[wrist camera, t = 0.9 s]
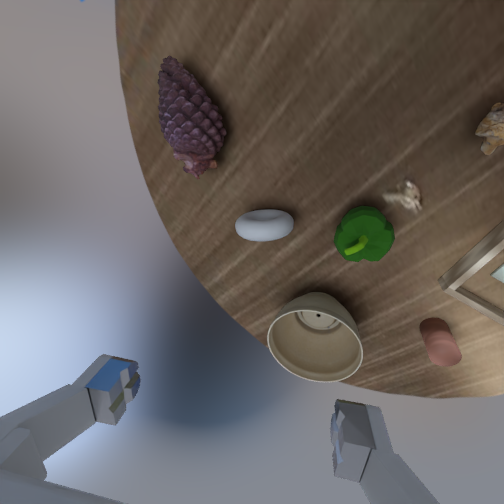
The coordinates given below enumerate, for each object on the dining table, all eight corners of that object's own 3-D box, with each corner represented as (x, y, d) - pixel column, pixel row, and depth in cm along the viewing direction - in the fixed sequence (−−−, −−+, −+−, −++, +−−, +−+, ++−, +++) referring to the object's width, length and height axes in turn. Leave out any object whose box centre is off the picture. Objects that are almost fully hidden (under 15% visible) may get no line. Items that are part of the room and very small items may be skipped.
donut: (298, 206, 48) (287, 225, 39) (298, 225, 49) (288, 246, 40) (245, 206, 51) (224, 223, 42) (247, 223, 52) (227, 243, 44)
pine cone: (164, 72, 45) (121, 61, 37) (215, 49, 41) (180, 31, 33) (197, 177, 51) (166, 188, 43) (244, 166, 48) (221, 176, 39)
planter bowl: (276, 275, 55) (262, 306, 46) (361, 278, 50) (364, 314, 40) (283, 336, 61) (272, 375, 52) (359, 345, 56) (361, 390, 47)
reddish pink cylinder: (431, 313, 48) (443, 340, 42) (453, 326, 48) (468, 355, 42) (414, 328, 50) (422, 356, 44) (435, 340, 50) (446, 370, 44)
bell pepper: (389, 196, 42) (399, 215, 34) (388, 244, 46) (397, 272, 37) (334, 201, 45) (330, 220, 37) (336, 246, 48) (334, 273, 40)
